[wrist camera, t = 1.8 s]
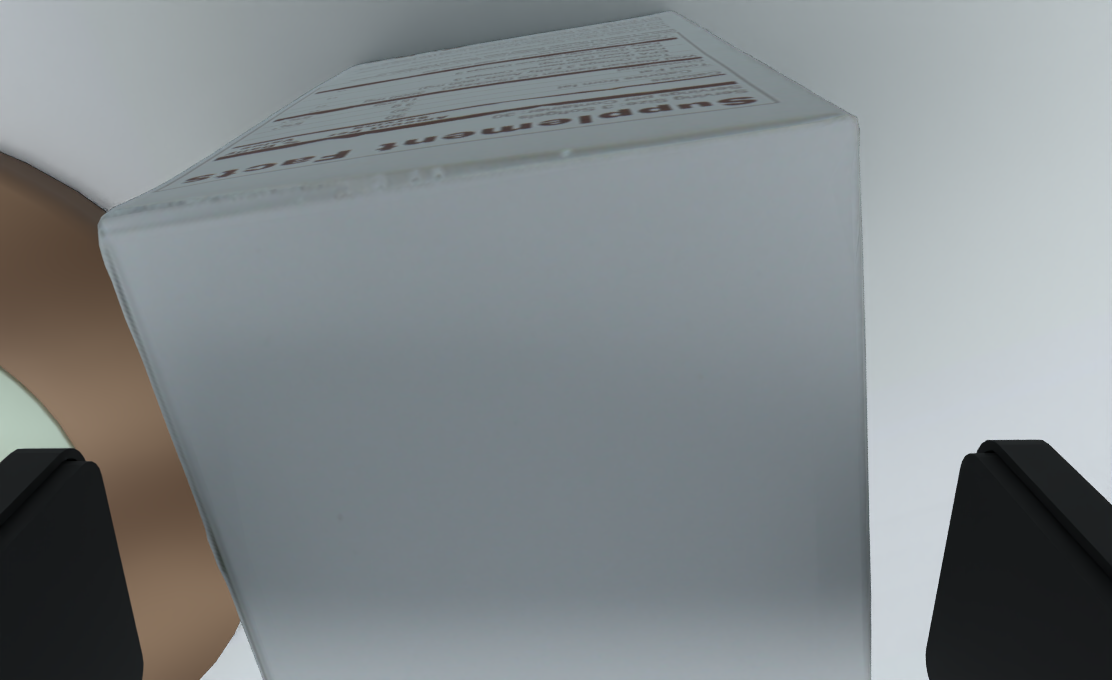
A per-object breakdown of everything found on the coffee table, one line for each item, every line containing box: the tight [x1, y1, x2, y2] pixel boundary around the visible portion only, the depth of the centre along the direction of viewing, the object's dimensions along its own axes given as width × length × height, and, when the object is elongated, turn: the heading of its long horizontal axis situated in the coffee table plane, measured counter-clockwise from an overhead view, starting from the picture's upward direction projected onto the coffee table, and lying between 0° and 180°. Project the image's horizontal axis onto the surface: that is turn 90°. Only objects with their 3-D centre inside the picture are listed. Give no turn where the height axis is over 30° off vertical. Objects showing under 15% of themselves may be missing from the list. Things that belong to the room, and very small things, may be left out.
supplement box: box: [98, 11, 871, 680], centre depth 15 cm, size 7×7×13 cm
